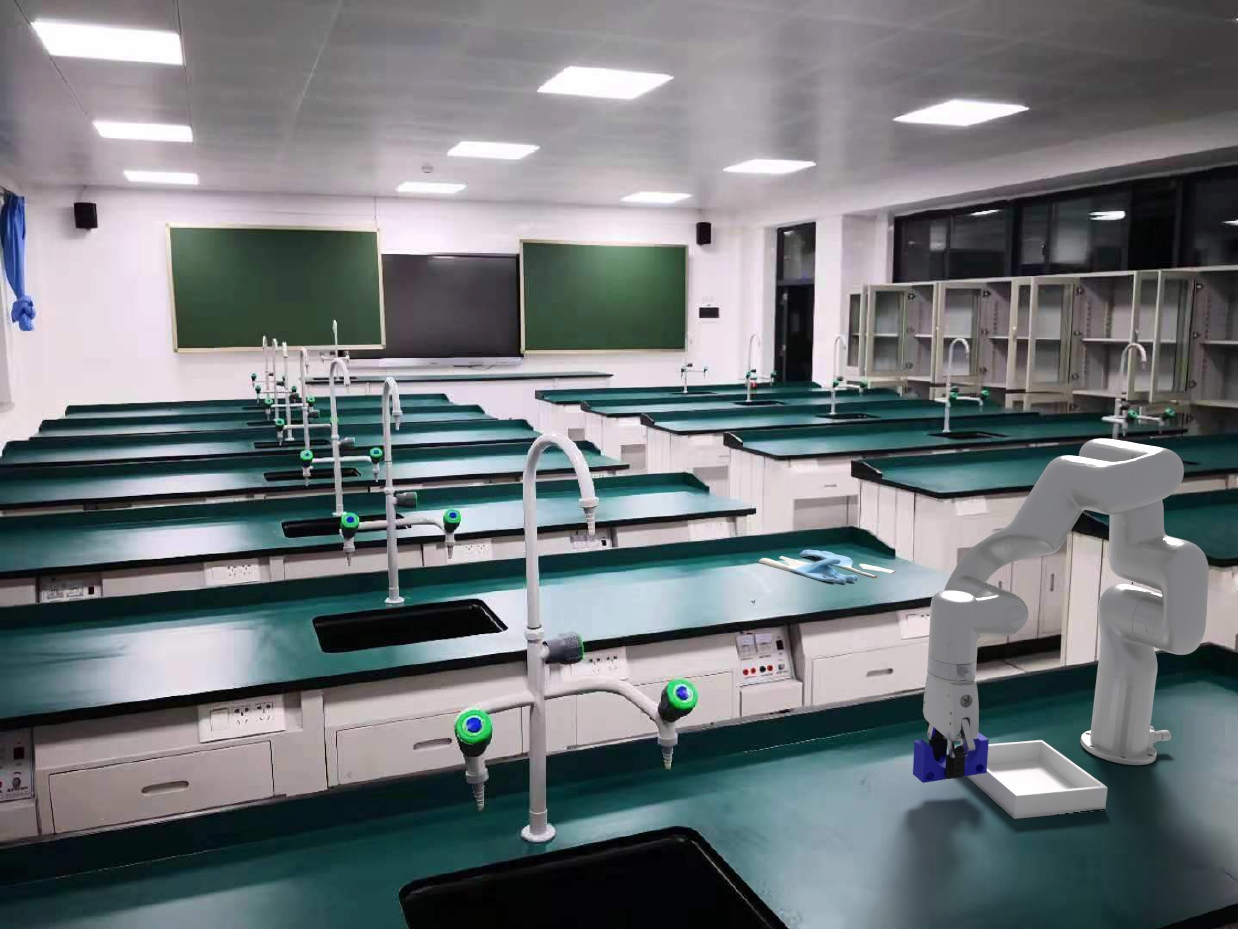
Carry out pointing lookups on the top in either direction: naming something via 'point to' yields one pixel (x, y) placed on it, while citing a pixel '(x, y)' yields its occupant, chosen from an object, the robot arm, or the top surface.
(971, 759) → the cable clip
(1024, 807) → the tray
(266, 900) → the top surface
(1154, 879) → the top surface
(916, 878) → the top surface
